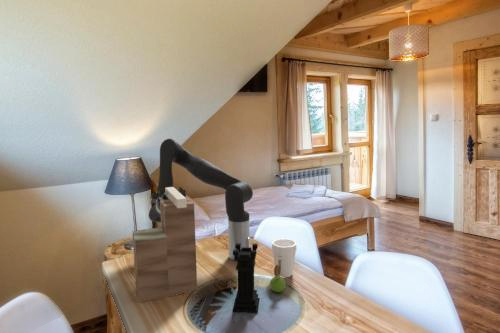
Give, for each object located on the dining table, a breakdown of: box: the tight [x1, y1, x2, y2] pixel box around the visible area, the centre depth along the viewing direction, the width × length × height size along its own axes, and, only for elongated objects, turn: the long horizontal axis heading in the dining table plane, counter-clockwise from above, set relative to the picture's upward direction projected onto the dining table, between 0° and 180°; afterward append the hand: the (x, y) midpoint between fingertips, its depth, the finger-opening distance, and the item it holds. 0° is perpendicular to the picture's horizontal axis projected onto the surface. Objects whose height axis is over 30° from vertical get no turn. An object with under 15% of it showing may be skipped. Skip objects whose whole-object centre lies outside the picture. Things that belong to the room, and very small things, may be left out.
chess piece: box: [232, 243, 261, 314], centre depth 113 cm, size 8×8×20 cm
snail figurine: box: [269, 255, 286, 293], centre depth 123 cm, size 5×6×12 cm
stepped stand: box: [132, 197, 198, 304], centre depth 123 cm, size 10×20×32 cm, turn 113°
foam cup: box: [271, 238, 297, 277], centre depth 136 cm, size 10×9×13 cm
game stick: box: [165, 186, 187, 208], centre depth 125 cm, size 22×3×3 cm, turn 23°
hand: (171, 190), depth 130 cm, fingers open, 6 cm apart
